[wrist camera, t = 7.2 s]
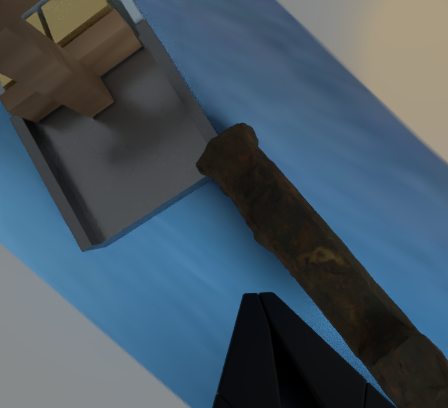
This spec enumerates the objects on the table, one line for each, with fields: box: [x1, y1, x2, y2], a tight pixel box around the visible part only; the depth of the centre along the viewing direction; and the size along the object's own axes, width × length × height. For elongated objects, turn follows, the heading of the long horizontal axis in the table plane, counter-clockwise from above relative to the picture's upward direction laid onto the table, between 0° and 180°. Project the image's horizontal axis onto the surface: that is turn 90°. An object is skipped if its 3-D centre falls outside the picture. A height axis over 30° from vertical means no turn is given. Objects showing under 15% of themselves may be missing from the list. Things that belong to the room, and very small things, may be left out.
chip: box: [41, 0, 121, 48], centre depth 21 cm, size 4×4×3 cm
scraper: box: [0, 0, 142, 123], centre depth 16 cm, size 3×10×11 cm, turn 122°
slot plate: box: [10, 19, 218, 252], centre depth 22 cm, size 10×11×3 cm
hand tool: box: [196, 123, 448, 408], centre depth 15 cm, size 19×4×5 cm, turn 36°
